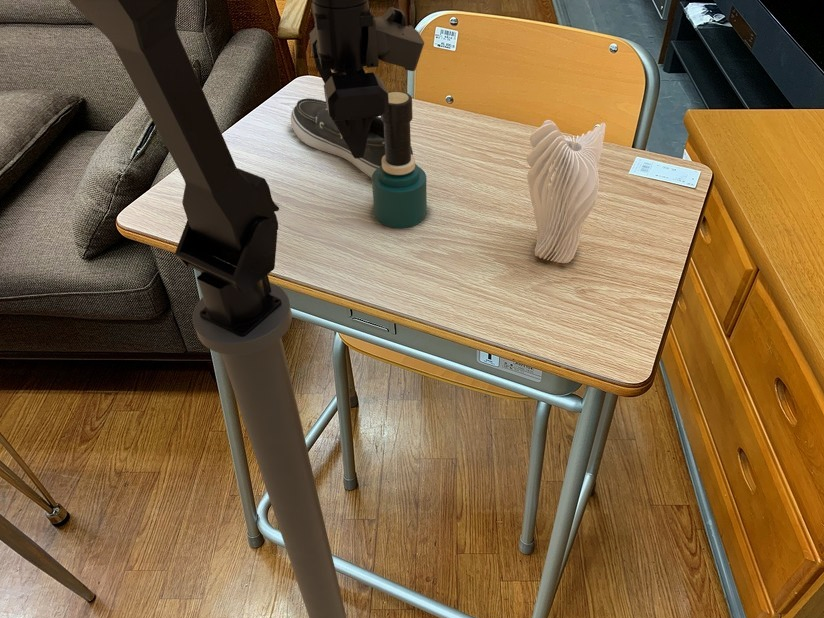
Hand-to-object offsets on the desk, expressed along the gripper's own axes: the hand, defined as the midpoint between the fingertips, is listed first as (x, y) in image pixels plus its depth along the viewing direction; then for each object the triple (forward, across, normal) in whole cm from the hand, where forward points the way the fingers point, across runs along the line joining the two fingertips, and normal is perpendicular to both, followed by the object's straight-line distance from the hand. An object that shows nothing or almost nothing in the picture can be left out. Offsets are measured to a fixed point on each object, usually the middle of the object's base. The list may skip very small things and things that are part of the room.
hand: (352, 138), depth 79 cm
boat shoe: (+12, +18, -2) cm, 21 cm away
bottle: (+12, 0, -6) cm, 13 cm away
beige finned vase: (+12, -12, -23) cm, 28 cm away
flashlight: (+4, 0, -6) cm, 7 cm away
